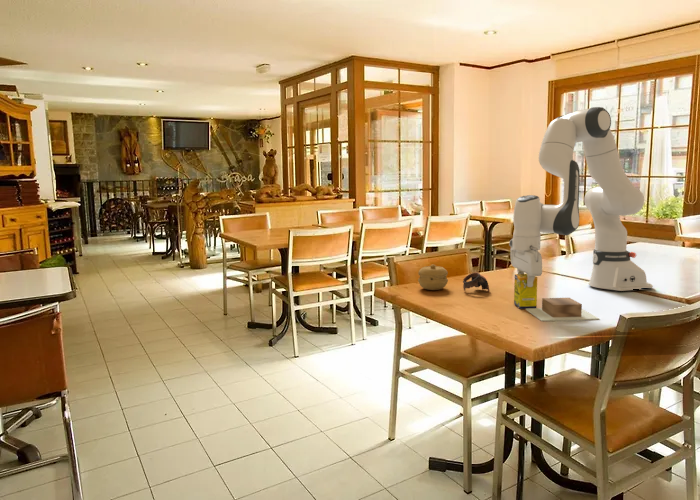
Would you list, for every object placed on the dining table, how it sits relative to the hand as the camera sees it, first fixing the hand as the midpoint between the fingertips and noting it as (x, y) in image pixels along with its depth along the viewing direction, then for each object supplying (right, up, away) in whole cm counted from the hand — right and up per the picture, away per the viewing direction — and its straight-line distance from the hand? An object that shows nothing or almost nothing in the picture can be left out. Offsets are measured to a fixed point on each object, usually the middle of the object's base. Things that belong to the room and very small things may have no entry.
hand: (525, 284), depth 179 cm
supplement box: (0, -8, +1) cm, 8 cm away
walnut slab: (+8, -9, -10) cm, 15 cm away
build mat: (+8, -9, -10) cm, 16 cm away
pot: (-27, -4, +31) cm, 41 cm away
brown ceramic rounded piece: (-9, -5, +27) cm, 29 cm away
